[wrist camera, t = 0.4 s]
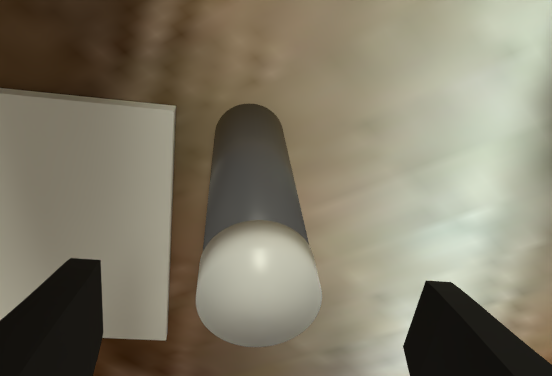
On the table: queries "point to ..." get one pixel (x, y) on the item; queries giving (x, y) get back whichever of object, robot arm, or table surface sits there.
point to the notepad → (88, 201)
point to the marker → (255, 237)
